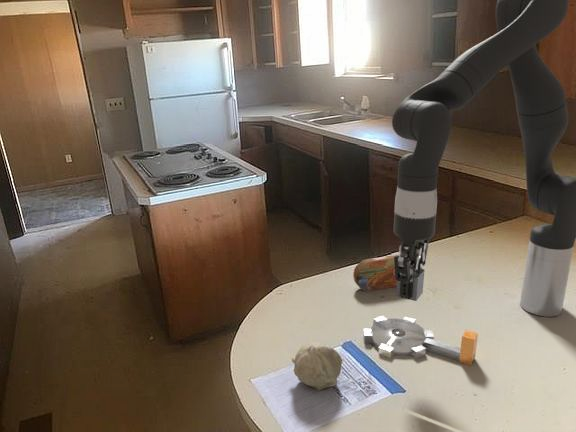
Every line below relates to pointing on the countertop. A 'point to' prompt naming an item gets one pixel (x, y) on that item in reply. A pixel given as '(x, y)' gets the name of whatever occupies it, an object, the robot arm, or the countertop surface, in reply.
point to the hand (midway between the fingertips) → (409, 292)
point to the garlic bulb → (317, 365)
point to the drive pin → (456, 348)
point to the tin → (375, 273)
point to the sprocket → (397, 336)
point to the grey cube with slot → (414, 285)
